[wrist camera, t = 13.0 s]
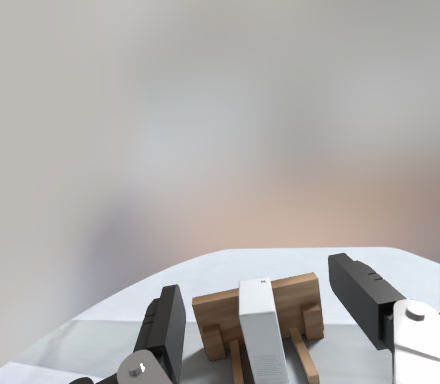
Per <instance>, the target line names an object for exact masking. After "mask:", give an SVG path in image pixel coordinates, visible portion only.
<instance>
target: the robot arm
mask: <svg viewBox="0 0 440 384" xmlns="http://www.w3.org/2000/svg"><path fill="white" fill-rule="evenodd" d="M328 266H329V281H330V285H331V288H332V290H333V292H334V294H335V295H336V296H337V298H338V299H339V300H340V301H341V303H342V304H343V305H344V307H345V308H346V309H347V311H348V312H349V313H350V315H351V316H352V317H353V319H354V320H355V321H356V322H357V324H358V325H359V326H360V328H361V329H362V330H363V332H364V333H365V334H366V336H367V337H368V338H369V340H370V341H371V342H372V343H373V345H374V346H375V347H376V349H377V350H383V349H389V350H390V351H391V353H392V384H440V313H437V312H436V311H435V310H434V309H433V308H431V307H430V306H428V305H426V304H424V303H421V302H419V301H415V300H407V299H406V298H405V297H404V296H403V295H402V294H401V293H399V292H398V291H397V290H396V289H395V288H394V287H392V286H391V285H390V284H389V283H388V282H387V281H385V280H384V279H383V278H382V277H381V276H380V275H379V274H376V272H375V271H374V270H373V269H372V268H370V267H369V266H368V265H366V264H364V263H362V262H360V261H353V260H352V259H351V258H350V257H349V256H347V255H346V254H345V253H340V254H335V255H330V256H329V257H328ZM142 324H143V325H142V326H141V329H140V332H139V336H138V339H137V342H136V345H135V348H134V351H133V353H132V354H131V355H129V356H128V357H127V358H126V359H125V360H124V361H123V362H122V363H121V365H120V367H119V369H118V372H117V373H115V374H114V375H112V376H110V377H108V378H106V379H104V380H102V381H100V382H98V383H96V384H179V381H180V371H181V362H182V353H183V343H184V334H185V324H186V312H185V307H184V303H183V299H182V296H181V292H180V288H179V286H178V284H176V285H171V286H165V287H163V289H162V292H161V296H160V298H157V299H154V300H153V301H152V302H151V304H150V305H149V306H148V308H147V311H146V314H145V318H144V320H143V323H142ZM69 384H94V383H93V381H92V380H91V379H90V378H88V377H83V378H79V379H76V380H74V381H72V382H71V383H69Z"/></svg>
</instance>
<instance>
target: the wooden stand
mask: <svg viewBox="0 0 440 384" xmlns="http://www.w3.org/2000/svg"><path fill="white" fill-rule="evenodd" d="M271 286H272V292H273V297H274V303H275V308H276V314H277V319H278V324H279V329H280V334H281V339H282V338H287V337H291V339H292V342H293V344H294V347H295V349H296V352H297V354H298V357H299V360H300V362H301V365H302V367H303V370H304V372H305V375H306V377H307V380H308V382H309V384H320V382H319V375H318V372H317V370H316V368H315V366H314V364H313V361H312V359H311V357H310V355H309V352H308V350H307V348H306V346H305V343H304V341H303V339H302V337H301V335H302V334H305V336H306V339H307V341H309V340H314V339H319V338H324V334H323V330H324V325H323V317H322V308H321V299H320V291H319V282H318V278H317V276H316V275H315V274H314V272H313V273H308V274H303V275H298V276H294V277H289V278H284V279H279V280H275V281H271ZM192 307H193V310H194V314H195V317H196V321H197V324H198V328H199V331H200V335H201V338H202V342H203V345H204V349H205V352H206V354H208V355H209V359H210V361H214V360H218V359H223V358H226V350H231V360H232V370H233V380H234V384H245V383H244V376H243V369H242V362H241V355H240V348H239V347H244V346H246V344H245V340H244V336H243V331H242V327H241V323H240V319H239V288H237V289H232V290H228V291H223V292H218V293H213V294H209V295H204V296H199V297H194V298H193V300H192Z"/></svg>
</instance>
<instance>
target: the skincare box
mask: <svg viewBox="0 0 440 384" xmlns="http://www.w3.org/2000/svg"><path fill="white" fill-rule="evenodd" d="M239 319H240V323H241V327H242V331H243V336H244V340H245V344H246V348H247V353H248V357H249V361H250V365H251V369H252V373H253V378H254V382H255V384H289V377H288V371H287V366H286V360H285V355H284V350H283V345H282V340H281V334H280V329H279V324H278V319H277V314H276V308H275V303H274V297H273V292H272V286H271V281H270V278H260V279H252V280H244V281H239Z"/></svg>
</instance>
